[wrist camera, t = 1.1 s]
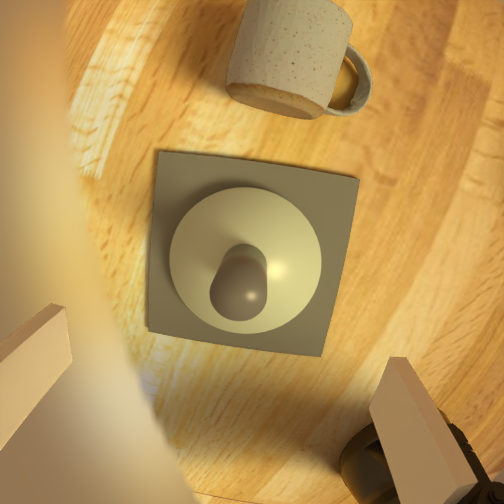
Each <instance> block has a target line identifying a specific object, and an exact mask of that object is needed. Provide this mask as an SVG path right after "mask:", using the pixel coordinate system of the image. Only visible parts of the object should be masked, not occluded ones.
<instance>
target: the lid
mask: <svg viewBox="0 0 504 504" xmlns="http://www.w3.org/2000/svg"><path fill="white" fill-rule="evenodd" d="M170 271H171V276H172V280H173V283H174V286H175V288H176V290H177V292H178V294H179V296H180V298H181V299H182V301H183V302H184V303H185V305H186V306H187V307H188V308H189V309H190V310H191V311H192V312H193V313H194V314H195V315H196V316H198V317H199V318H200V319H201V320H203V321H205V322H206V323H208V324H209V325H212V326H214V327H216V328H218V329H221V330H224V331H228V332H233V333H241V334H254V333H261V332H265V331H269V330H272V329H275V328H277V327H280V326H282V325H284V324H285V323H287V322H289V321H290V320H292V319H293V318H294V317H296V316H297V315H298V314H299V313H300V312H301V311H302V310H303V309H304V308H305V306H306V305H307V304H308V303H309V301H310V299H311V298H312V296H313V294H314V292H315V290H316V288H317V285H318V282H319V278H320V273H321V251H320V246H319V242H318V239H317V236H316V234H315V232H314V229H313V228H312V226H311V224H310V223H309V221H308V220H307V218H306V217H305V216H304V215H303V214H302V212H301V211H300V210H299V209H298V208H297V207H296V206H295V205H293V204H292V203H291V202H290V201H288V200H287V199H285V198H284V197H282V196H280V195H278V194H276V193H273V192H270V191H268V190H264V189H260V188H254V187H236V188H230V189H225V190H222V191H219V192H217V193H214V194H212V195H210V196H208V197H206V198H205V199H203V200H202V201H200V202H199V203H197V204H196V205H195V206H194V207H193V208H192V209H190V210H189V211H188V213H187V214H186V215H185V216H184V217H183V219H182V220H181V222H180V224H179V225H178V227H177V229H176V231H175V234H174V236H173V239H172V243H171V247H170Z"/></svg>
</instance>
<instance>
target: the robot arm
mask: <svg viewBox="0 0 504 504" xmlns="http://www.w3.org/2000/svg"><path fill="white" fill-rule="evenodd" d="M72 362H73V359H72V353H71V346H70V340H69V334H68V325H67V317H66V309H65V307H63V306H59V305H56V304H52V303H51V304H50V305H48V306H47V307H46V308H44V309H43V310H42V311H41V312H39V313H38V314H37V315H36V316H34V317H33V318H32V319H30V320H29V321H28V322H26V323H25V324H24V325H22V326H21V327H20V328H19V329H17V330H16V331H15V332H14V333H13V334H11V335H10V336H9V337H7V338H6V339H5V340H4V341H3V342H1V343H0V450H1V449H2V448H3V446H4V445H5V444H6V443H7V441H8V440H9V438H10V437H11V436H12V435H13V433H14V432H15V431H16V430H17V428H18V427H19V426H20V425H21V423H22V422H23V421H24V419H25V418H26V417H27V416H28V415H29V413H30V412H31V411H32V410H33V408H34V407H35V406H36V405H37V404H38V402H39V401H40V400H41V399H42V397H43V396H44V395H45V394H46V393H47V391H48V390H49V389H50V388H51V387H52V385H53V384H54V383H55V382H56V381H57V379H58V378H59V377H60V376H61V375H62V374H63V372H64V371H65V370H66V369H67V368H68V367H69V366H70V364H71V363H72ZM369 411H370V414H371V417H372V419H373V422H374V423H372V424H371V425H369V426H368V427H366V428H365V429H363V430H362V431H361V432H359V433H358V434H357V435H356V436H355V437H354V438H353V439H352V440H351V441H350V442H349V443H348V444H347V446H346V447H345V448H344V450H343V452H342V454H341V457H340V462H339V465H340V470H341V475H342V479H343V481H344V483H345V485H346V486H347V487H348V489H349V490H350V492H351V493H352V495H353V496H354V497H355V499H356V500H357V502H358V503H359V504H504V484H502V483H500V482H495V481H494V482H491V481H490V479H489V477H488V476H487V474H486V472H485V470H484V468H483V467H482V465H481V463H480V461H479V459H478V458H477V456H476V454H475V452H473V449H472V447H471V445H470V444H468V440H467V439H466V437H465V435H464V434H463V432H462V431H461V430H460V429H459V428H457V427H456V426H455V425H454V424H453V423H452V424H451V423H450V421H449V419H448V418H447V416H446V415H445V414H444V413H443V412H442V411H440V410H438V409H437V407H436V405H435V403H434V402H433V400H432V398H431V397H430V395H429V394H428V392H427V390H426V389H425V387H424V385H423V384H422V382H421V380H420V379H419V377H418V376H417V374H416V372H415V371H414V369H413V368H412V366H411V364H410V363H409V361H408V360H407V358H406V357H390V358H389V360H388V363H387V365H386V368H385V370H384V373H383V375H382V378H381V380H380V383H379V385H378V387H377V390H376V392H375V394H374V397H373V399H372V401H371V404H370V406H369Z"/></svg>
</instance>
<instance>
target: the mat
mask: <svg viewBox="0 0 504 504" xmlns="http://www.w3.org/2000/svg"><path fill="white" fill-rule="evenodd" d="M359 182H360V179H356V178H351V177H346V176H341V175H335V174H330V173H324V172H319V171H313V170H307V169H301V168H295V167H289V166H283V165H276V164H269V163H262V162H255V161H248V160H240V159H232V158H223V157H215V156H205V155H195V154H185V153H173V152H161V151H159V155H158V164H157V173H156V182H155V193H154V204H153V216H152V230H151V246H150V267H149V303H148V331H149V332H154V333H159V334H164V335H169V336H174V337H179V338H185V339H190V340H196V341H202V342H208V343H214V344H220V345H226V346H233V347H240V348H247V349H254V350H261V351H269V352H277V353H286V354H295V355H305V356H315V357H321V354H322V350H323V347H324V343H325V339H326V336H327V332H328V328H329V324H330V320H331V317H332V313H333V309H334V305H335V300H336V296H337V292H338V288H339V284H340V279H341V275H342V270H343V266H344V261H345V256H346V252H347V247H348V242H349V237H350V232H351V227H352V222H353V216H354V211H355V205H356V199H357V194H358V188H359ZM236 187H254V188H260V189H264V190H268V191H270V192H273V193H276V194H278V195H280V196H282V197H284V198H285V199H287V200H288V201H290V202H291V203H292V204H293V205H295V206H296V207H297V208H298V209H299V210H300V211H301V212H302V214H303V215H304V216H305V217H306V218H307V220H308V221H309V223H310V224H311V226H312V228H313V229H314V232H315V234H316V236H317V239H318V242H319V246H320V251H321V273H320V278H319V282H318V285H317V288H316V290H315V292H314V294H313V296H312V298H311V299H310V301H309V303H308V304H307V305H306V306H305V308H304V309H303V310H302V311H301V312H300V313H299V314H298V315H297V316H296V317H294V318H293V319H292V320H290V321H289V322H287V323H285V324H284V325H282V326H280V327H277V328H275V329H272V330H269V331H265V332H261V333H254V334H241V333H233V332H228V331H224V330H221V329H218V328H216V327H214V326H212V325H209V324H208V323H206V322H205V321H203V320H201V319H200V318H199V317H198V316H196V315H195V314H194V313H193V312H192V311H191V310H190V309H189V308H188V307H187V306H186V305H185V303H184V302H183V301H182V299H181V298H180V296H179V294H178V292H177V290H176V288H175V286H174V283H173V280H172V276H171V271H170V247H171V243H172V239H173V236H174V234H175V231H176V229H177V227H178V225H179V224H180V222H181V220H182V219H183V217H184V216H185V215H186V214H187V213H188V211H189V210H190V209H192V208H193V207H194V206H195V205H196V204H197V203H199V202H200V201H202V200H203V199H205V198H206V197H208V196H210V195H212V194H214V193H217V192H219V191H222V190H225V189H230V188H236Z"/></svg>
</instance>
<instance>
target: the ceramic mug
mask: <svg viewBox="0 0 504 504" xmlns="http://www.w3.org/2000/svg"><path fill="white" fill-rule="evenodd" d="M352 27H353V23H352V20H351V18H350V16H349V15H348V14H347V13H346V12H345V11H344V10H343V9H342V8H341V7H340V6H338V5H337V4H335V3H334V2H332V1H330V0H247V3H246V6H245V10H244V14H243V17H242V20H241V23H240V26H239V30H238V33H237V37H236V41H235V45H234V49H233V52H232V55H231V59H230V62H229V65H228V70H227V80H226V90H227V92H228V94H229V95H230V97H231V98H233V99H234V100H236V101H238V102H240V103H243V104H245V105H248V106H251V107H254V108H258V109H261V110H264V111H268V112H272V113H276V114H280V115H284V116H288V117H293V118H299V119H308V120H311V119H316V118H318V117H320V116H321V115H322V114H326V115H333V116H351V115H354V114H356V113H358V112H359V111H361V110H362V109H363V108H364V107H365V105H366V104H367V102H368V100H369V98H370V95H371V92H372V86H373V79H372V74H371V71H370V68H369V66H368V64H367V62H366V60H365V59H364V57H363V56H362V55H361V54H360V53H359V52H358V51H357V50H356V49H355V48H354V47H353V46H352V45H350V44H349V43H348V42H349V39H350V36H351V32H352ZM344 55H346V56H347V57H348V58H349V59H350V60H351V61H352V63H353V64H354V66H355V68H356V70H357V73H358V81H359V82H358V86H357V88H356V91H355V94H354V96H353V98H352V99H351V100H350V104H349V107H347V108H346V109H343V110H335V109H332V108H330V107H327V106H328V104H329V102H330V100H331V97H332V94H333V91H334V88H335V84H336V80H337V76H338V73H339V70H340V67H341V64H342V61H343V58H344Z"/></svg>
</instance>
